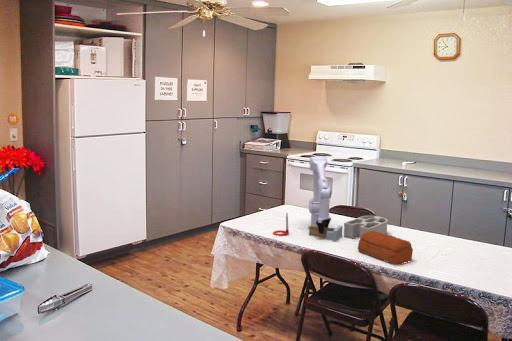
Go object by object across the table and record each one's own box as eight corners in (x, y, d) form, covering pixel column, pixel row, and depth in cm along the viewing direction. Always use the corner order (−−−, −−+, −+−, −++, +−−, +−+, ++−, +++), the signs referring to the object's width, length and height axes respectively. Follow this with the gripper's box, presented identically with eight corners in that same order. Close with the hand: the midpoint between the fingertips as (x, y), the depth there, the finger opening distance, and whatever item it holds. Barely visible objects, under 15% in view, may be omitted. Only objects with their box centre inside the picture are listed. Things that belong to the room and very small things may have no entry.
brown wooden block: (311, 233, 287) (311, 225, 286) (334, 236, 281) (334, 228, 280) (308, 235, 284) (309, 226, 283) (331, 238, 277) (332, 230, 277)
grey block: (332, 234, 286) (332, 224, 285) (342, 235, 283) (342, 226, 282) (325, 239, 275) (326, 229, 274) (335, 241, 272) (336, 231, 271)
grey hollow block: (343, 237, 281) (343, 222, 280) (367, 227, 302) (367, 214, 300) (368, 243, 270) (369, 228, 269) (391, 233, 291) (392, 219, 290)
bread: (396, 266, 236) (397, 245, 234) (354, 251, 257) (355, 232, 255) (415, 260, 245) (416, 240, 243) (373, 246, 266) (375, 227, 264)
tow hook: (272, 236, 281) (288, 236, 281) (272, 214, 279) (288, 214, 279) (273, 232, 290) (288, 232, 289) (272, 211, 287) (288, 211, 287)
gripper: (326, 212, 271) (325, 236, 273) (334, 207, 284) (333, 229, 286) (314, 211, 274) (314, 234, 276) (323, 205, 287) (322, 228, 289)
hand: (323, 231), depth 281 cm, fingers open, 7 cm apart
